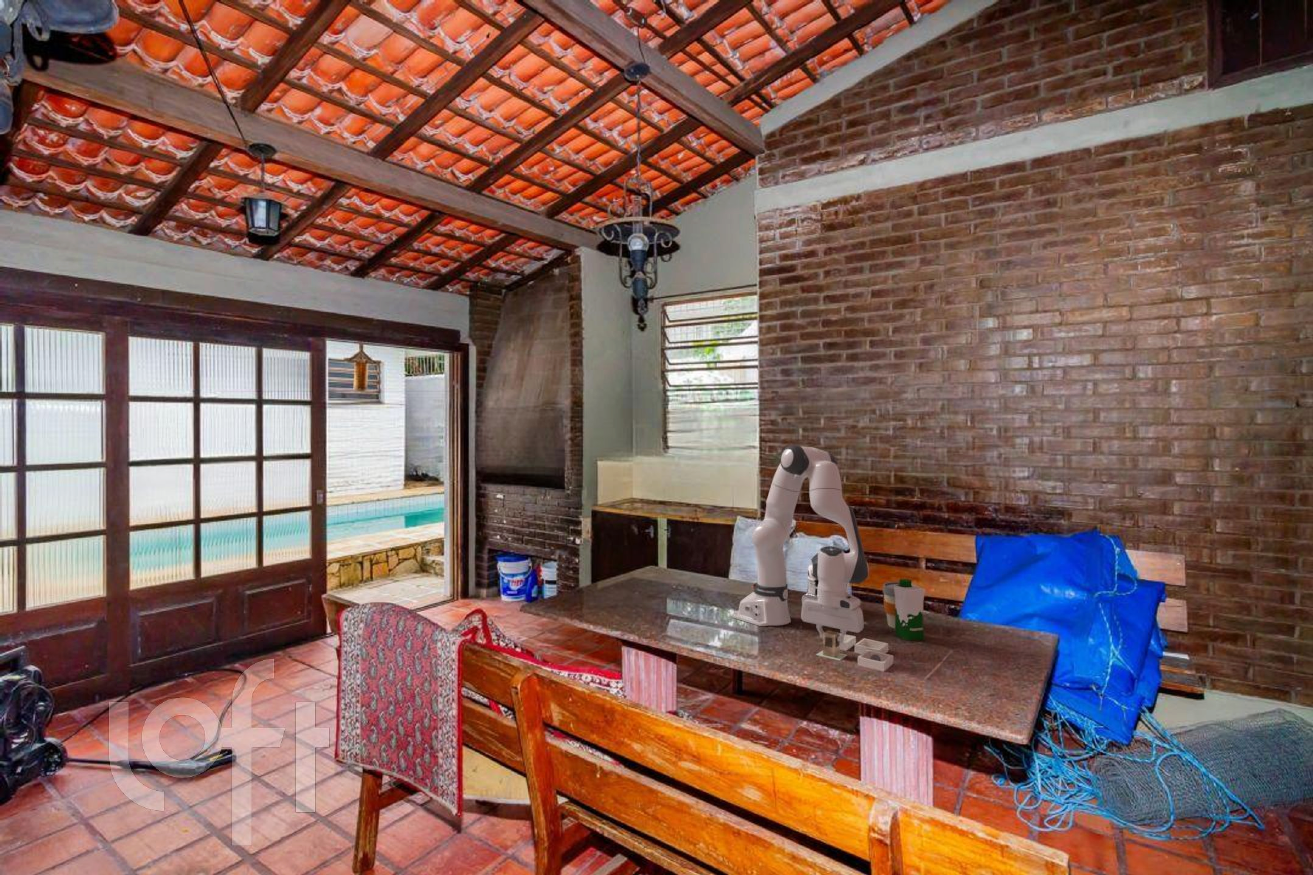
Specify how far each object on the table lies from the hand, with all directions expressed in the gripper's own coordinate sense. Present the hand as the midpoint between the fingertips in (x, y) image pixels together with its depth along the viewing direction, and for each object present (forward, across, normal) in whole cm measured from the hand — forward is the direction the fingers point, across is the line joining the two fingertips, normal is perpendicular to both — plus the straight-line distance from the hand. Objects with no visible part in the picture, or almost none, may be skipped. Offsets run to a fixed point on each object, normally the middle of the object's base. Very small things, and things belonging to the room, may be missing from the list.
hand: (831, 639), depth 202 cm
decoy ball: (+3, +14, +1) cm, 14 cm away
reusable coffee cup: (+6, +7, +46) cm, 47 cm away
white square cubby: (+5, +9, +11) cm, 15 cm away
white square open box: (+5, +14, +1) cm, 15 cm away
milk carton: (+6, +14, +34) cm, 37 cm away
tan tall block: (+5, 0, 0) cm, 5 cm away
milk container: (+6, -22, +46) cm, 51 cm away
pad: (+5, 0, 0) cm, 5 cm away
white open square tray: (+5, -2, +11) cm, 12 cm away
